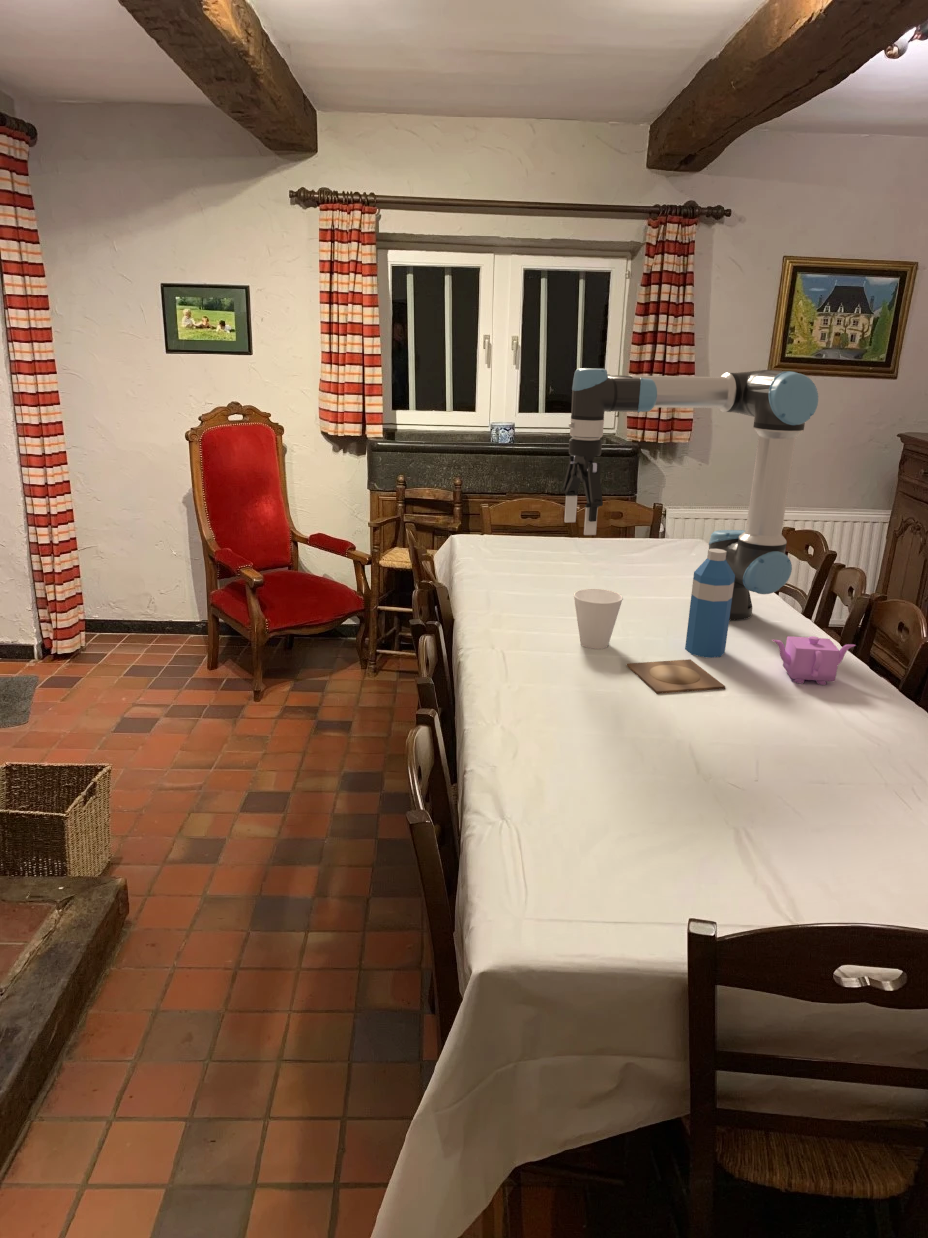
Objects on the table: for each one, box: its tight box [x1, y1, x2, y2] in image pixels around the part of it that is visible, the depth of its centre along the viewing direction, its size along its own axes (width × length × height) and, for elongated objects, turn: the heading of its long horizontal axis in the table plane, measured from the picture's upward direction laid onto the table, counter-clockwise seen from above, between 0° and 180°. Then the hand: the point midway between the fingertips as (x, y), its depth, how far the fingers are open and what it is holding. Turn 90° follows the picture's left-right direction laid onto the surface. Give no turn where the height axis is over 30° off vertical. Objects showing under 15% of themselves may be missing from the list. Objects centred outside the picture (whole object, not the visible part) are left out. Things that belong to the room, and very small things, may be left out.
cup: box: [573, 588, 624, 650], centre depth 204 cm, size 12×12×12 cm
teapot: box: [771, 635, 857, 686], centre depth 187 cm, size 18×13×10 cm
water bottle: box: [684, 548, 735, 659], centre depth 199 cm, size 9×9×25 cm
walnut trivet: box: [626, 658, 726, 695], centre depth 187 cm, size 16×16×1 cm
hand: (579, 528), depth 200 cm, fingers open, 13 cm apart
